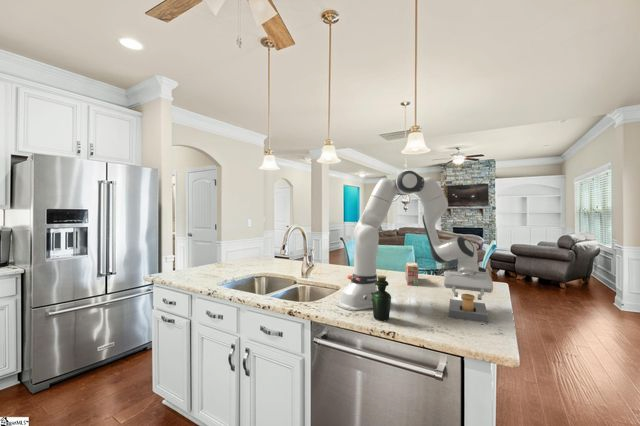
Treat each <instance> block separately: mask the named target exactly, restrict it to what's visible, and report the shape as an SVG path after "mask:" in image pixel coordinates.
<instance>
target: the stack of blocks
mask: <svg viewBox="0 0 640 426" xmlns="http://www.w3.org/2000/svg"><path fill="white" fill-rule="evenodd" d="M404 266H405V277H404V278H405V280H406V281H405V282H406V284H407V286H409V287H410V286H413V287H414V286H415V287H418V286H419V266H418V264H417V262H406V264H405V265H404Z"/></svg>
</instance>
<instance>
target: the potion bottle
mask: <svg viewBox="0 0 640 426" xmlns="http://www.w3.org/2000/svg"><path fill="white" fill-rule="evenodd" d="M375 285H376V286H377V291H376V292H374V293H373V295H372V303H373V308H372V312H373V313H372V315H373V316H372V317H373V318H375V320H376V321H380V320H381V321H380V322H382V321H383V322H384V320H386V321H388V320H389V319H390V313H391V302H392V296H391V295H392V294H391V293H389V292H388V291H386V288H387V287H388V286H389V285H390V284H389V281H387V276H386V275H377V281H376V282H375Z"/></svg>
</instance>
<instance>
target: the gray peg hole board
mask: <svg viewBox="0 0 640 426" xmlns="http://www.w3.org/2000/svg"><path fill="white" fill-rule="evenodd" d="M460 298H461V297H460ZM448 317H449V318H453V319H461V320H467V321H474V322H482V323H489V313H488V309H487V307H486V304H485V303H483V302H477V301H473V312H471V311H463V310H462V298H461V299H454V298H453V299H452V298H450V299H449V307H448Z"/></svg>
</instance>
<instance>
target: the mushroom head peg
mask: <svg viewBox="0 0 640 426" xmlns="http://www.w3.org/2000/svg"><path fill="white" fill-rule="evenodd" d="M460 298H462V299H461V300H462V310H463V311H471V312H473V302H474V300H475V299H476V298H475V295H473V294H469V293H461V297H460Z"/></svg>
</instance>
